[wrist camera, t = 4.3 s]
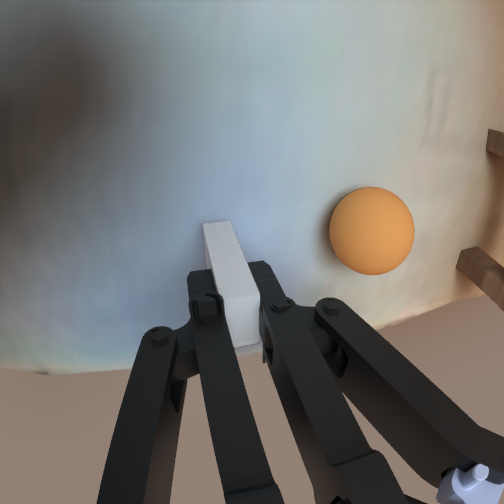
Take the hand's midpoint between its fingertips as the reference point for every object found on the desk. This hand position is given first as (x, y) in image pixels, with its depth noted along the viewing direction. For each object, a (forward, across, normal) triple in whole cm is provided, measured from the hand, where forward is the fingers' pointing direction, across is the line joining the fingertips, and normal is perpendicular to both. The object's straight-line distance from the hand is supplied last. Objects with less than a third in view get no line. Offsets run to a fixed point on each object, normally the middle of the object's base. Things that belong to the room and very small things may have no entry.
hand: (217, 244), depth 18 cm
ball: (-1, +10, 0) cm, 10 cm away
